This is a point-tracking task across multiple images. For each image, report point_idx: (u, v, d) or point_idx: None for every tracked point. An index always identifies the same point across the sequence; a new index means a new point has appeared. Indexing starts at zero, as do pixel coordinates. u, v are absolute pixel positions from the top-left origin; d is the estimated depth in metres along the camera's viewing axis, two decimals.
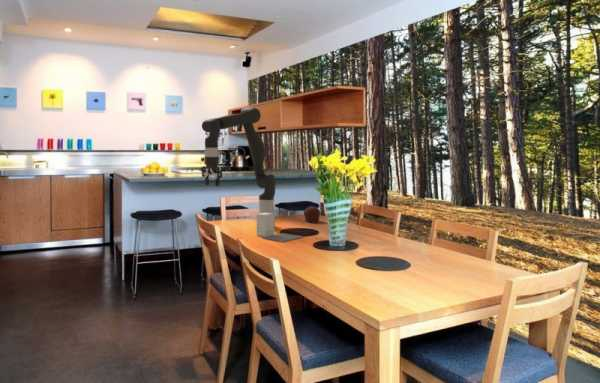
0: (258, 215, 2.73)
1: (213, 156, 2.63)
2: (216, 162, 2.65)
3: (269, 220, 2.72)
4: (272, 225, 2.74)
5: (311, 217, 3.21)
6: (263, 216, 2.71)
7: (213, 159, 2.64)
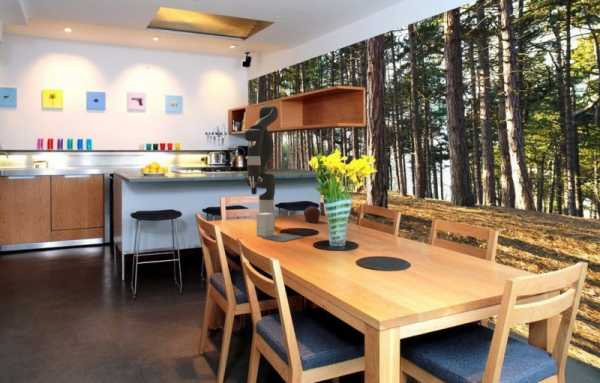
0: (258, 215, 2.73)
1: (256, 164, 2.74)
2: (258, 170, 2.76)
3: (269, 220, 2.72)
4: (272, 225, 2.74)
5: (311, 217, 3.21)
6: (263, 216, 2.71)
7: (256, 167, 2.74)
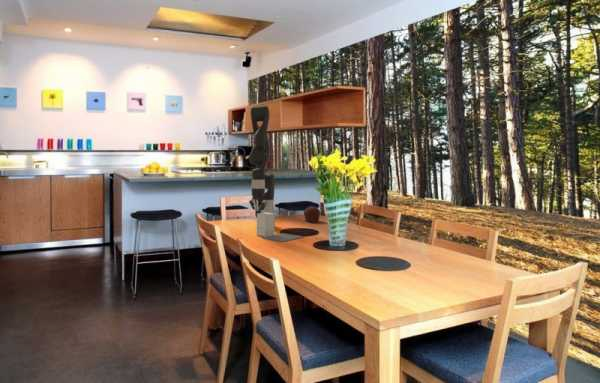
0: (258, 215, 2.73)
1: (260, 188, 2.73)
2: (263, 193, 2.75)
3: (269, 220, 2.72)
4: (272, 225, 2.74)
5: (311, 217, 3.21)
6: (263, 216, 2.70)
7: (260, 191, 2.73)
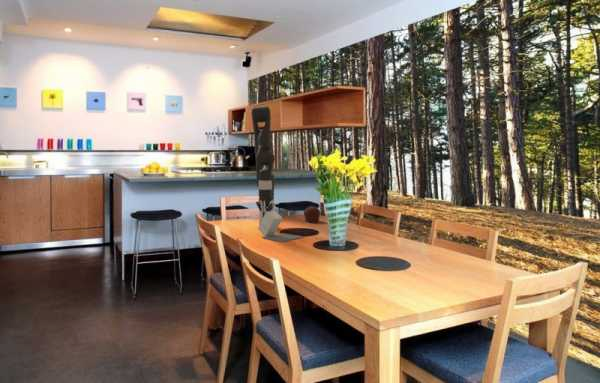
0: (267, 214, 2.68)
1: (267, 189, 2.70)
2: (270, 194, 2.71)
3: (275, 223, 2.69)
4: (276, 227, 2.72)
5: (311, 217, 3.21)
6: (271, 219, 2.66)
7: (268, 192, 2.70)
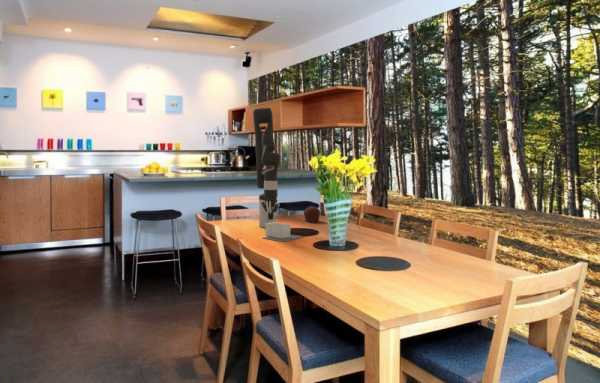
0: (280, 228, 2.62)
1: (273, 189, 2.67)
2: (275, 195, 2.68)
3: None
4: None
5: (311, 217, 3.21)
6: (280, 236, 2.63)
7: (273, 192, 2.67)
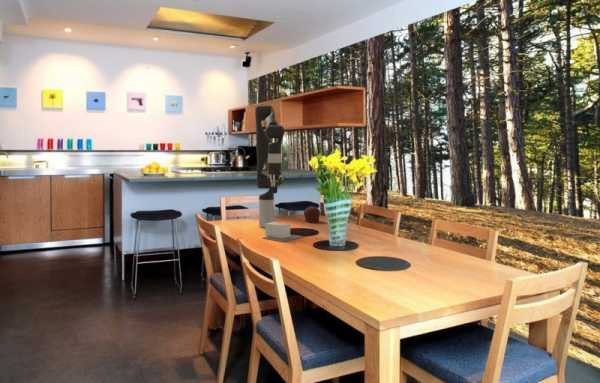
0: (280, 228, 2.62)
1: (277, 162, 2.64)
2: (279, 168, 2.65)
3: None
4: None
5: (311, 217, 3.21)
6: (280, 236, 2.63)
7: (277, 165, 2.64)
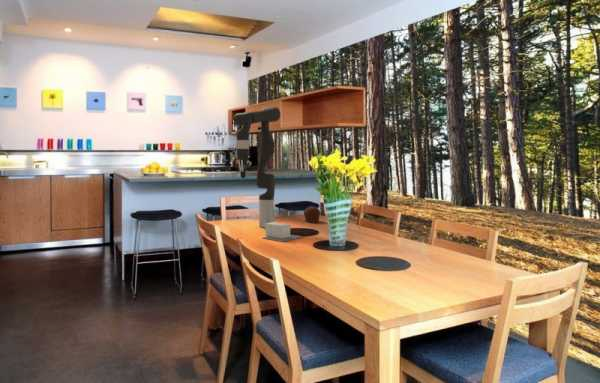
0: (280, 228, 2.62)
1: (244, 148, 2.76)
2: (247, 154, 2.78)
3: None
4: None
5: (311, 217, 3.21)
6: (280, 236, 2.63)
7: (245, 151, 2.76)
